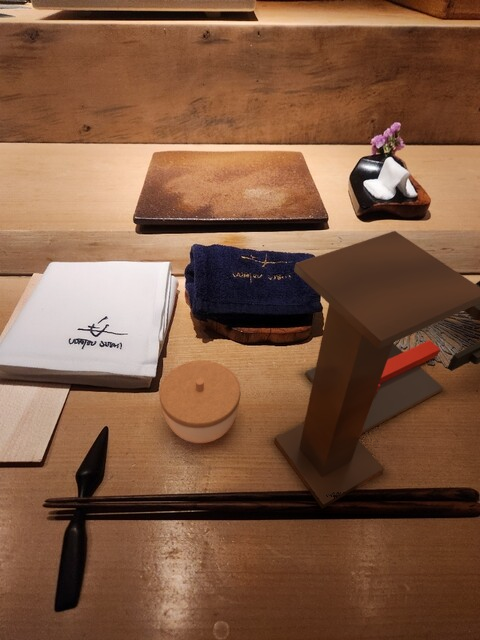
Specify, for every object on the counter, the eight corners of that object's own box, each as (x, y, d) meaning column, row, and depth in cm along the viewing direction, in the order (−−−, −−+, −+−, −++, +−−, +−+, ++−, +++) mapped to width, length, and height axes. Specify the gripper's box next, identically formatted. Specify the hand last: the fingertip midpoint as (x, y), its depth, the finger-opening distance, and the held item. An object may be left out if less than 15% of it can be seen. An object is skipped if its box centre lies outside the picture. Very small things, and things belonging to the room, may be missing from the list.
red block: (442, 359, 75) (445, 353, 74) (347, 406, 68) (349, 400, 67) (422, 342, 78) (425, 336, 77) (328, 386, 71) (330, 379, 70)
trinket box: (149, 420, 66) (141, 378, 60) (207, 382, 72) (205, 340, 65) (195, 472, 60) (192, 431, 54) (254, 426, 66) (258, 384, 59)
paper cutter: (442, 391, 72) (443, 387, 71) (358, 436, 65) (359, 432, 65) (384, 339, 80) (385, 335, 79) (304, 374, 73) (305, 371, 73)
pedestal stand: (401, 466, 62) (488, 292, 42) (324, 512, 57) (381, 340, 37) (344, 403, 69) (394, 230, 49) (272, 439, 64) (295, 263, 44)
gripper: (565, 354, 73) (475, 407, 65) (442, 271, 88) (357, 305, 80) (590, 319, 68) (496, 372, 59) (455, 238, 83) (367, 270, 75)
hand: (416, 334), depth 70 cm, fingers open, 13 cm apart
